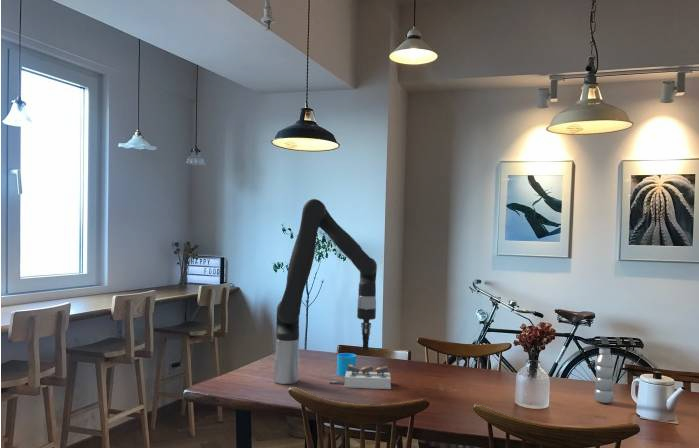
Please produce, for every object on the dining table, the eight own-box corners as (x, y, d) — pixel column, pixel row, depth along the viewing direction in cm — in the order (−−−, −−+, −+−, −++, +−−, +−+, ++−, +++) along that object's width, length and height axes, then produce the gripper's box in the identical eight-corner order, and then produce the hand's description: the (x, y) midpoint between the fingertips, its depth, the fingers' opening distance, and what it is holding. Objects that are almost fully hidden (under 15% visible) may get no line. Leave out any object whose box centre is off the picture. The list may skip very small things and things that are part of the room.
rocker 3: (377, 374, 214) (376, 369, 214) (377, 372, 217) (376, 368, 217) (388, 371, 214) (387, 367, 214) (388, 369, 217) (387, 365, 217)
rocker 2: (362, 373, 214) (361, 369, 215) (362, 371, 218) (361, 368, 218) (373, 370, 214) (372, 366, 214) (373, 368, 217) (372, 364, 218)
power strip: (328, 386, 211) (328, 374, 211) (330, 380, 220) (330, 368, 220) (390, 389, 210) (391, 376, 210) (390, 382, 219) (390, 370, 219)
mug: (353, 377, 226) (353, 357, 226) (334, 375, 228) (335, 356, 228) (359, 370, 238) (360, 352, 238) (341, 369, 240) (342, 350, 240)
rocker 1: (347, 370, 215) (348, 366, 215) (347, 368, 218) (349, 364, 218) (358, 373, 215) (359, 369, 215) (358, 371, 218) (359, 367, 218)
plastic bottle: (596, 398, 203) (597, 345, 204) (615, 402, 199) (616, 348, 199) (591, 402, 198) (592, 348, 199) (611, 406, 194) (612, 351, 194)
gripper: (358, 304, 224) (356, 346, 223) (356, 308, 211) (355, 352, 210) (376, 305, 223) (374, 346, 223) (375, 309, 210) (374, 353, 210)
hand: (365, 349), depth 217 cm, fingers closed
